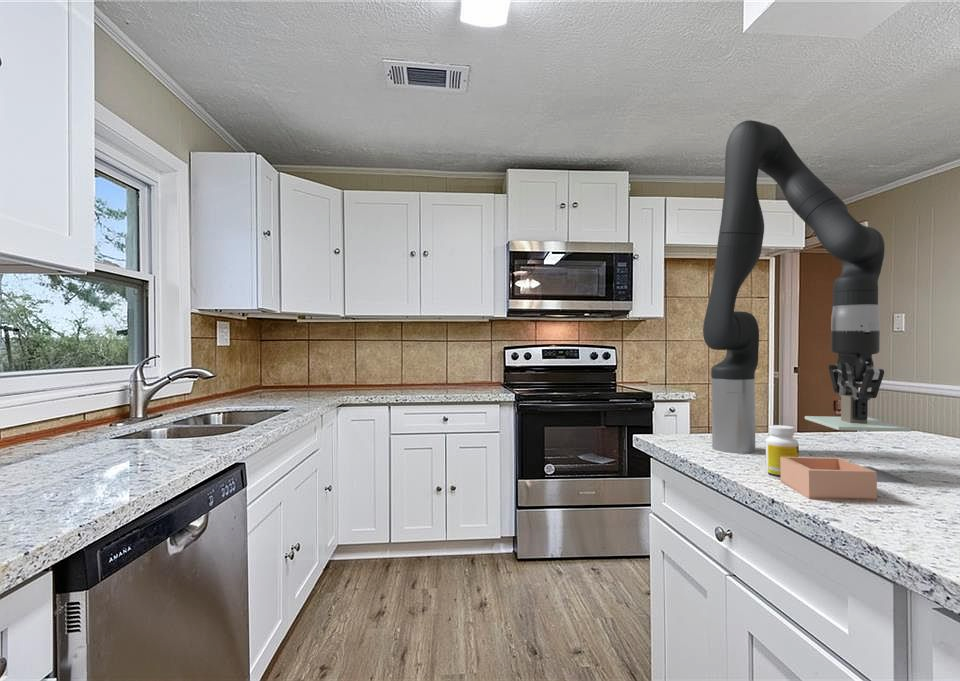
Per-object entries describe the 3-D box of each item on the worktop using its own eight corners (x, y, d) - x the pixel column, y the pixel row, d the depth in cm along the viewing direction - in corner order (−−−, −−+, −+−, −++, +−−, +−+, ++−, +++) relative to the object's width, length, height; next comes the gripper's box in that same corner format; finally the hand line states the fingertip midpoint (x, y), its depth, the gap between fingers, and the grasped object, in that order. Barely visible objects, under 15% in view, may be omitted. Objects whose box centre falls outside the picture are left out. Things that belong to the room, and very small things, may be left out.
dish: (780, 484, 91) (780, 456, 91) (840, 485, 89) (840, 457, 89) (809, 501, 81) (808, 470, 81) (877, 503, 79) (876, 471, 80)
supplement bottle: (804, 483, 92) (803, 429, 92) (771, 481, 93) (771, 428, 93) (792, 475, 97) (791, 424, 97) (761, 474, 98) (760, 424, 98)
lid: (804, 418, 104) (804, 392, 104) (867, 420, 102) (867, 392, 102) (838, 430, 92) (838, 399, 92) (910, 431, 90) (910, 400, 90)
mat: (806, 467, 103) (806, 465, 103) (870, 468, 101) (870, 466, 101) (840, 482, 91) (840, 480, 91) (913, 484, 90) (913, 482, 90)
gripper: (814, 329, 104) (813, 412, 104) (856, 328, 90) (855, 424, 90) (853, 329, 103) (852, 412, 103) (902, 328, 89) (901, 425, 89)
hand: (854, 417), depth 97 cm, fingers closed on lid, 3 cm apart
